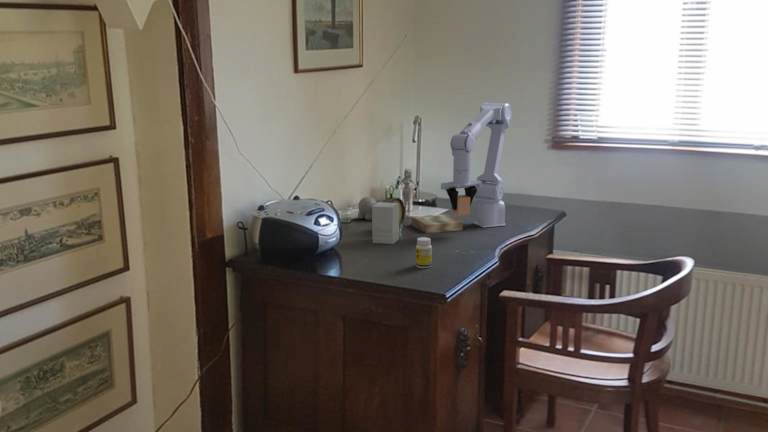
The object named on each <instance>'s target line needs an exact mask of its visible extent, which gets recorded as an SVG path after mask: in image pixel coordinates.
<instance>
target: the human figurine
mask: <svg viewBox="0 0 768 432" xmlns="http://www.w3.org/2000/svg"><path fill="white" fill-rule="evenodd" d="M403 175H404V177H403V178H402V180H401V181H400V182H399V183H398V184H397V185H396V186H394V187H393V188H394V190H396V189H397V188H398V187H399V186H400V185H401V184H403V185H404V186H403V189H402V197H403V201H404V202H403V204H404V208H405V216H406V217H410V214H411V211H410V210H411V199H412V193H413V189H412V188H411V187H410V184H411V183H412V184H413V185H414V187H416V188H417V189H418V190H419V192H420V193H423V190H422V189H421V188H420V187H419V186H418V184H416V183H415V181H414V180H413V179H412V178H413V177H412V170H411V168H404V174H403ZM407 205H408V206H407ZM407 212H408V213H407Z"/></svg>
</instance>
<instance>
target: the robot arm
mask: <svg viewBox="0 0 768 432" xmlns="http://www.w3.org/2000/svg"><path fill="white" fill-rule="evenodd" d="M511 119H512V108H511V105H510V103H508V102H507V103H498V102H497V103H496V102H486V101H485V102H483V103H482V105H481V106H480V109H479V114H478V115H477V117H476V118H475V120H474V121H469V122H468V123H467V124H466V125H465V127H464V128H462V130H461V131H460V132H459V133H455V134H454V135H452V137H451V140H450V143H449V144H450V149H451V154H452V156H453V164H452V165H453V170H452V171H453V172H452V173H453V175H452V177H453V178H452V179H453V181H449V182H443V183H440V190H441V191H442V190H443V191H445V192H446V193H447V196H448V198H449V200H450V201H449V202H450V204H451V208H452V209H453V210H457V197H458V195H459V190H458V189H464V195H466V196H468V197H470V208H471V206H472V203H473V200H474V198H475V199H476V201H477V221H473V222H472V224H474V225H476V226H479V227H481V228H493V227H495V228H496V227H505V226H506V223H505V221H506V205H505V202H504V200H502V199H503V197H504V193H505V191H504V185H505V184H504V183H505V182H504V180H503V179H502V178H501V176H499V171H500V164H501V159H502V153H503V148H504V141H505V137H506V130H507V129H509V128H510V125H511ZM485 126H486V127H488V128H490V137H489V143H488V147H487V152H486V160H485V165H484V171H483V173H482V174H480V175H478V176H477V177H476V180H471V160H472V159H471V156H472V155H471V154H472V151H473V150H474V148H475V144H476V140H478V138H479V137H481V135H482V134H483V128H484V127H485Z"/></svg>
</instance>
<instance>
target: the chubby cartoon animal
mask: <svg viewBox="0 0 768 432" xmlns="http://www.w3.org/2000/svg"><path fill="white" fill-rule="evenodd" d="M383 201H384V200H381V201H380V202H383ZM376 203H378V202H377V201H376V199H375V198H374V197H371V196H364V197H362V198H361V199H360V201H359V203H358V206H357V207H358V213H357V219H360V220H363V219H365V220H366V221H372V206H373V205H375V204H376Z"/></svg>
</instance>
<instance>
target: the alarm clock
mask: <svg viewBox="0 0 768 432" xmlns="http://www.w3.org/2000/svg"><path fill="white" fill-rule="evenodd" d="M391 188H392V192H391V193H390V190H391ZM394 188H395V187H394V186H393V185H391V186H389V188H388V194H389V197H386V198H384V200H382V201H383V202H386V203H399V229H402V227H401V226H402V225H403V223H404V220H405V216H406V215H405V208H404V202H403V200H402V199H401V198H399V197H394V196H393V194H394V191H395V189H394Z"/></svg>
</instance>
